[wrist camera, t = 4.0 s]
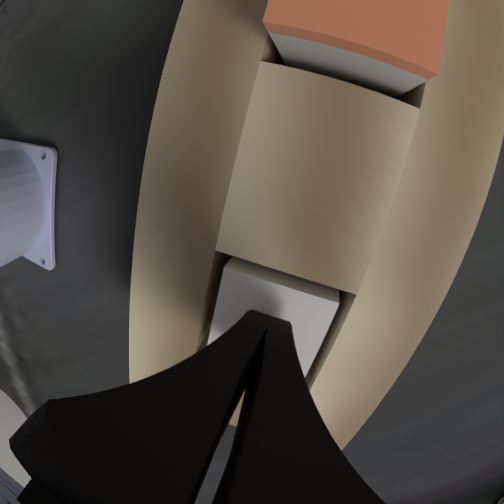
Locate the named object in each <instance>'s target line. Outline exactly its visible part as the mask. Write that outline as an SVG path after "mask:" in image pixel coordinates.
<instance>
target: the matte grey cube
mask: <svg viewBox="0 0 504 504" xmlns="http://www.w3.org/2000/svg"><path fill="white" fill-rule="evenodd" d="M339 304H340V302H339V289H336V288H333V287H330V286H327V285H324V284H320V283H317V282H314V281H311V280H308V279H305V278H301V277H298V276H295V275H292V274H289V273H285V272H282V271H279V270H276V269H273V268H270V267H266V266H263V265H260V264H257V263H254V262H251V261H248V260H244V259H241V258H238V257H235V256H232V258H231V259H230V260H229V261H228V263H227V264H226V265H225V267H224V270H223V275H222V279H221V284H220V288H219V293H218V297H217V302H216V306H215V311H214V315H213V320H212V325H211V329H210V334H209V339H208V343H207V345H209V344H210V343H212V342H213V341H214V340H216V339H217V338H218V337H219V336H221V335H222V334H223V333H225V332H226V331H227V330H228V329H229V328H231V327H232V326H233V325H234V324H235V323H236V322H237V321H238V320H239V319H240V318H241V317H242V316H243V315H244V314H245V313H246V312H247V311H248V310H251V309H252V310H255V311H258V312H261V313H264V314H268V315H271V316H274V317H277V318H280V319H283V320H287V321H290V323H291V325H292V330H293V336H294V342H295V346H296V350H297V354H298V358H299V361H300V364H301V368H302V371H303V374H304V377H306V375H307V373H308V371H309V369H310V367H311V365H312V363H313V361H314V358H315V356H316V354H317V352H318V350H319V348H320V346H321V344H322V342H323V340H324V337H325V335H326V333H327V331H328V329H329V326H330V324H331V322H332V320H333V317H334V315H335V313H336V311H337V308H338V306H339Z"/></svg>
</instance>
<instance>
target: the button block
mask: <svg viewBox="0 0 504 504" xmlns="http://www.w3.org/2000/svg"><path fill="white" fill-rule="evenodd" d="M268 1H269V0H184V1H183V4H182V7H181V10H180V14H179V17H178V20H177V23H176V26H175V30H174V33H173V36H172V40H171V43H170V47H169V50H168V54H167V58H166V61H165V65H164V69H163V73H162V77H161V81H160V85H159V89H158V94H157V98H156V103H155V107H154V112H153V117H152V122H151V127H150V132H149V137H148V143H147V148H146V154H145V160H144V166H143V172H142V179H141V186H140V193H139V201H138V209H137V218H136V227H135V237H134V248H133V260H132V274H131V292H130V319H129V374H130V383H133V382H136V381H139V380H141V379H144V378H146V377H149V376H151V375H154V374H156V373H158V372H161V371H163V370H165V369H167V368H169V367H171V366H173V365H175V364H177V363H179V362H181V361H183V360H185V359H186V358H188V357H190V356H192V355H193V354H195V353H196V352H198V351H199V350H201V349H203V348H204V347H206V346H207V343H208V339H209V334H210V329H211V325H212V320H213V315H214V311H215V306H216V302H217V297H218V293H219V288H220V284H221V279H222V275H223V270H224V267H225V265H226V264H227V263H228V261H229V260H230V259H231V258H232V256H235V257H238V258H241V259H244V260H248V261H251V262H254V263H257V264H260V265H263V266H266V267H270V268H273V269H276V270H279V271H282V272H285V273H289V274H292V275H295V276H298V277H301V278H305V279H308V280H311V281H314V282H317V283H320V284H324V285H327V286H330V287H333V288H336V289H339V302H340V304H339V306H338V308H337V311H336V313H335V315H334V317H333V320H332V322H331V324H330V326H329V329H328V331H327V333H326V335H325V337H324V340H323V342H322V344H321V346H320V348H319V350H318V352H317V354H316V356H315V358H314V361H313V363H312V365H311V367H310V369H309V371H308V373H307V375H306V377H305V380H306V383H307V385H308V388H309V390H310V393H311V396H312V398H313V400H314V403H315V405H316V407H317V409H318V411H319V413H320V415H321V417H322V419H323V421H324V423H325V425H326V427H327V428H328V430H329V432H330V434H331V436H332V437H333V439H334V440H335V442H336V443H337V445H338V446H339V448H340V449H341V450H342V449H343V448H344V447H345V446H346V445H347V443H348V442H349V441H350V440H351V439H352V438H353V436H354V435H355V434H356V433H357V431H358V430H359V429H360V428H361V427H362V425H363V424H364V423H365V421H366V420H367V419H368V418H369V416H370V415H371V414H372V412H373V411H374V410H375V408H376V407H377V406H378V404H379V403H380V402H381V400H382V399H383V398H384V396H385V395H386V393H387V392H388V391H389V389H390V388H391V386H392V385H393V383H394V382H395V381H396V379H397V378H398V376H399V375H400V373H401V372H402V370H403V369H404V367H405V366H406V364H407V362H408V361H409V359H410V358H411V356H412V354H413V353H414V351H415V350H416V348H417V346H418V345H419V343H420V341H421V340H422V338H423V336H424V335H425V333H426V331H427V329H428V328H429V326H430V324H431V322H432V320H433V319H434V317H435V315H436V313H437V311H438V309H439V307H440V306H441V304H442V302H443V300H444V298H445V296H446V294H447V292H448V290H449V288H450V286H451V284H452V282H453V280H454V277H455V275H456V273H457V271H458V269H459V267H460V264H461V262H462V260H463V257H464V255H465V253H466V250H467V248H468V246H469V243H470V241H471V238H472V236H473V233H474V231H475V228H476V225H477V223H478V220H479V217H480V215H481V212H482V209H483V206H484V203H485V200H486V197H487V194H488V191H489V188H490V184H491V181H492V178H493V174H494V171H495V167H496V164H497V160H498V156H499V152H500V148H501V144H502V140H503V135H504V0H450V1H449V11H448V20H447V28H446V35H445V42H444V48H443V54H442V60H441V66H440V71H439V75H437V76H435V77H433V78H431V79H430V80H428V81H426V82H424V83H422V84H420V85H418V86H417V87H415V88H413V89H411V90H409V91H407V92H406V93H404V94H402V95H400V96H398V97H397V98H395V99H394V98H391V97H389V96H386V95H383V94H381V93H378V92H375V91H372V90H369V89H366V88H363V87H360V86H357V85H354V84H351V83H348V82H344V81H341V80H338V79H334V78H331V77H327V76H324V75H320V74H316V73H312V72H309V71H304V70H300V69H296V68H292V67H287V66H286V64H285V62H284V60H283V58H282V57H281V55H280V53H279V51H278V49H277V47H276V45H275V44H274V42H273V40H272V38H271V36H270V34H269V33H268V31H267V29H266V27H265V26H264V24H263V22H262V21H263V17H264V14H265V11H266V7H267V4H268ZM244 393H245V391H244ZM244 393H243V395H242V397H241V399H240V401H239V403H238V406H237V408H236V410H235V412H234V414H233V416H232V418H231V420H230V422H229V424H231V425H234V426H237V423H238V419H239V414H240V410H241V406H242V401H243V397H244Z"/></svg>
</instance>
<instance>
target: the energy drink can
mask: <svg viewBox="0 0 504 504" xmlns="http://www.w3.org/2000/svg"><path fill="white" fill-rule="evenodd" d="M497 504H504V497H503V498H501V499H500V500H499V501H498V503H497Z"/></svg>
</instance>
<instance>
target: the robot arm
mask: <svg viewBox="0 0 504 504" xmlns="http://www.w3.org/2000/svg"><path fill="white" fill-rule="evenodd" d="M45 153H46V157H45ZM56 168H57V151H56V149H55V148H52V147H47V146H42V145H36V144H30V143H25V142H19V141H13V140H7V139H0V267H1V266H3V265H5V264H7V263H9V262H10V261H12V260H14V259H16V258H18V257H20V256H23V257H25V258H27V259H29V260H31V261H32V262H34V263H36V264H38V265H40V266H42V267H44V268H46V269H47V270H52V269H53V268H55V240H54V208H55V183H56ZM244 391H245V393H244ZM243 393H244V397H243V401H242V406H241V410H240V414H239V419H238V423H237V427H236V432H235V436H234V440H233V444H232V448H231V452H230V455H229V458H228V461H227V464H226V467H225V470H224V472H223V475H222V478H221V480H220V483H219V486H218V488H217V491H216V494H215V496H214V499H213V502H212V504H385V503H384V502H383V500H382V499H381V498H380V497H379V496H378V495H377V494H376V493H375V492H374V491H373V490H372V489H371V488H370V487H369V486H368V485H367V484H366V483H365V482H364V480H363V479H362V478H361V477H360V475H359V474H358V473H357V472H356V470H355V469H354V468H353V467H352V465H351V464H350V463H349V461H348V460H347V458H346V457H345V455H344V454H343V452H342V451H341V449H340V448H339V446H338V445H337V443H336V442H335V440H334V439H333V437H332V436H331V434H330V432H329V430H328V428H327V427H326V425H325V423H324V421H323V419H322V417H321V415H320V413H319V411H318V409H317V407H316V405H315V403H314V400H313V398H312V396H311V393H310V390H309V388H308V385H307V383H306V380H305V377H304V374H303V371H302V368H301V364H300V361H299V358H298V354H297V350H296V346H295V342H294V336H293V330H292V325H291V323H290V321H287V320H283V319H280V318H277V317H274V316H271V315H268V314H264V313H261V312H258V311H255V310H252V309H251V310H248V311H247V312H246V313H245V314H244V315H243V316H242V317H241V318H240V319H239V320H238V321H237V322H236V323H235V324H234V325H233V326H232V327H231V328H229V329H228V330H227V331H226V332H225V333H223V334H222V335H221V336H219V337H218V338H217V339H216V340H214V341H213V342H212V343H210V344H209V345H207V346H206V347H204V348H203V349H201V350H199V351H198V352H196V353H195V354H193V355H192V356H190V357H188V358H186V359H185V360H183V361H181V362H179V363H177V364H175V365H173V366H171V367H169V368H167V369H165V370H163V371H161V372H158V373H156V374H154V375H151V376H149V377H146V378H144V379H141V380H139V381H136V382H133V383H130V384H126V385H123V386H119V387H116V388H112V389H109V390H105V391H101V392H97V393H92V394H87V395H81V396H74V397H67V398H60V399H50V400H48V401H47V402H46V403H45V404H43V405H42V406H41V407H40V408H38V409H37V410H36V411H35V412H34V413H33V414H32V415H31V416H30V417H29V418H28V419H27V420H26V421H25V422H24V423H23V424H22V426H21V427H20V428H19V429H18V430H17V431H16V432H15V434H14V435H13V436H12V437H11V438H10V439H9V443H10V448H11V450H12V452H13V454H14V455H15V457H16V458H17V459H18V461H19V462H20V464H21V465H22V466H23V467H24V469H25V470H26V471H27V472H28V474H29V475H30V476H31V478H32V479H31V480H30V481H29V483H28V484H27V485H26V487H25V488H23V487H22V486H21V485H20V484H19V483H18V482H16V481H15V480H14V479H13V478H12V477H10V476H9V475H8V474H7V473H6V472H4V470H2V469H1V468H0V504H194V503H195V501H196V498H197V496H198V493H199V491H200V488H201V486H202V483H203V481H204V478H205V476H206V473H207V471H208V468H209V466H210V463H211V460H212V458H213V455H214V453H215V451H216V448H217V446H218V444H219V442H220V440H221V438H222V436H223V434H224V432H225V430H226V428H227V426H228V424H229V422H230V420H231V418H232V416H233V414H234V412H235V410H236V408H237V406H238V403H239V401H240V399H241V397H242V395H243Z"/></svg>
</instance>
